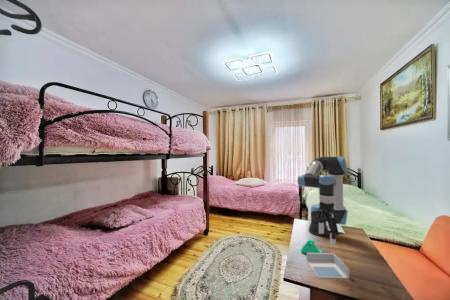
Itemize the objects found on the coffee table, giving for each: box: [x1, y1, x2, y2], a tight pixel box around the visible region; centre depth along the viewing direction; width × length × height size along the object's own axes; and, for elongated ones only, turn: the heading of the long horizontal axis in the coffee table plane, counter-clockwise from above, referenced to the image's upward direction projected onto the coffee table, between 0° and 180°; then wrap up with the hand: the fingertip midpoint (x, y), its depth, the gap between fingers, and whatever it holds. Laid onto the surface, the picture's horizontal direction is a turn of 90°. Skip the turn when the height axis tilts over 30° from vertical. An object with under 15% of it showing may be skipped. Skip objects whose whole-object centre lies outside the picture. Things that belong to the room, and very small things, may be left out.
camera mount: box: [300, 238, 323, 254], centre depth 132 cm, size 12×8×10 cm, turn 54°
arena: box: [306, 252, 351, 280], centre depth 115 cm, size 17×17×5 cm
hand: (326, 238), depth 112 cm, fingers open, 13 cm apart
